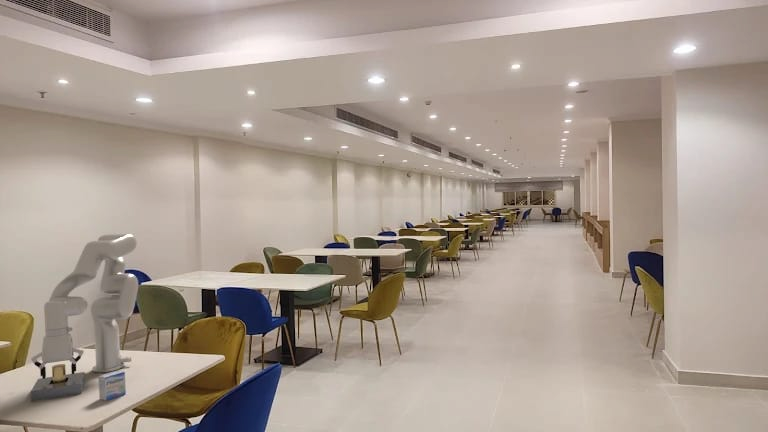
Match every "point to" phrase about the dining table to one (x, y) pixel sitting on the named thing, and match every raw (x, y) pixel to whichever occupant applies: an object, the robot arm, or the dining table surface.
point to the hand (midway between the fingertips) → (58, 375)
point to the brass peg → (59, 373)
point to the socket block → (58, 387)
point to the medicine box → (112, 385)
